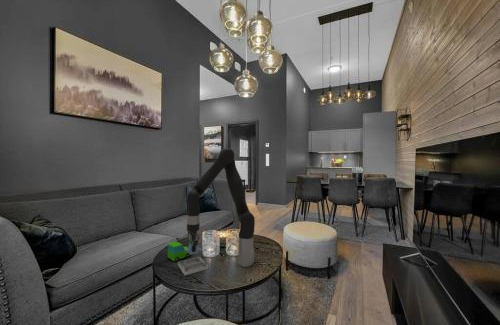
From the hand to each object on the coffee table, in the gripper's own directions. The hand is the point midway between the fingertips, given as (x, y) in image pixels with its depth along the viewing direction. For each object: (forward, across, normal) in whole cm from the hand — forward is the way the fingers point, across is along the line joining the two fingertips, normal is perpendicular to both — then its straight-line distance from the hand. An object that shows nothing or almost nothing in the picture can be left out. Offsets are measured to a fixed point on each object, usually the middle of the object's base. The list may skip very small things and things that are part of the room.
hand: (192, 250), depth 131 cm
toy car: (+11, +17, +3) cm, 20 cm away
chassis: (+10, 0, 0) cm, 10 cm away
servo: (+2, 0, 0) cm, 2 cm away
